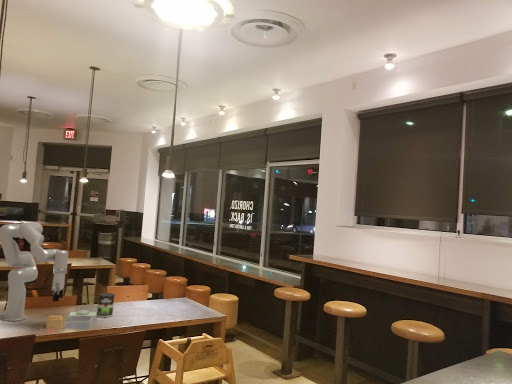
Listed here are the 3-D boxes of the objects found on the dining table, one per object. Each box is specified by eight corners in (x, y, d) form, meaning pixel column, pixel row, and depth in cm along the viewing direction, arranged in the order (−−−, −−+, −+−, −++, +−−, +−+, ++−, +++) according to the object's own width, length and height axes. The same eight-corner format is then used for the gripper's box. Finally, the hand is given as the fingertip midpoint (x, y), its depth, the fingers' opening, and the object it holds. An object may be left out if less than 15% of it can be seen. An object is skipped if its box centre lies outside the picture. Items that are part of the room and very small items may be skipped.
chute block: (46, 327, 237) (47, 317, 238) (48, 325, 242) (49, 315, 243) (60, 327, 239) (61, 317, 240) (62, 325, 244) (63, 315, 244)
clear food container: (67, 322, 251) (68, 313, 252) (70, 318, 260) (71, 309, 261) (94, 322, 255) (94, 313, 255) (96, 318, 264) (97, 310, 264)
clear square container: (64, 328, 238) (65, 321, 238) (69, 321, 252) (70, 315, 252) (89, 328, 241) (90, 321, 242) (93, 322, 255) (94, 315, 256)
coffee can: (112, 317, 269) (114, 295, 270) (96, 317, 265) (98, 295, 266) (112, 313, 278) (114, 292, 280) (96, 313, 275) (98, 292, 276)
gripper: (57, 268, 250) (54, 296, 249) (49, 273, 233) (46, 302, 232) (69, 269, 252) (67, 296, 251) (63, 273, 235) (60, 302, 234)
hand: (57, 299), depth 241 cm, fingers open, 9 cm apart
